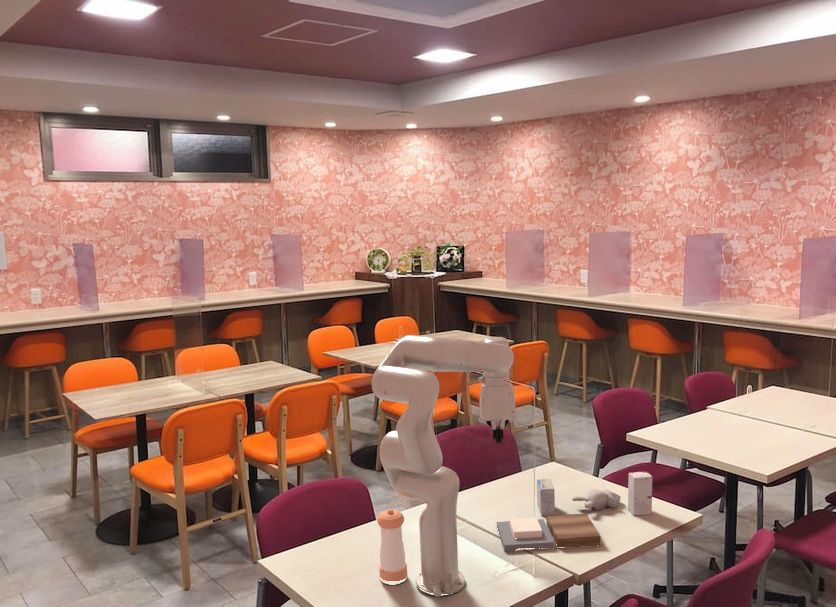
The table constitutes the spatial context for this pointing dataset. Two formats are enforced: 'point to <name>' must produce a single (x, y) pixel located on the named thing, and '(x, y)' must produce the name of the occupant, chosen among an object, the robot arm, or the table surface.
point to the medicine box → (545, 497)
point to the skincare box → (640, 493)
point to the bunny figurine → (599, 499)
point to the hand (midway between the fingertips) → (497, 441)
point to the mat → (514, 544)
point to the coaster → (525, 528)
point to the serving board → (573, 530)
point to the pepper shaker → (392, 546)
